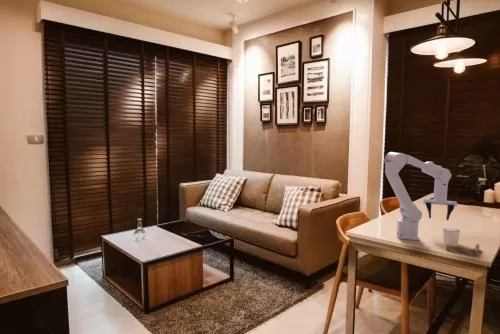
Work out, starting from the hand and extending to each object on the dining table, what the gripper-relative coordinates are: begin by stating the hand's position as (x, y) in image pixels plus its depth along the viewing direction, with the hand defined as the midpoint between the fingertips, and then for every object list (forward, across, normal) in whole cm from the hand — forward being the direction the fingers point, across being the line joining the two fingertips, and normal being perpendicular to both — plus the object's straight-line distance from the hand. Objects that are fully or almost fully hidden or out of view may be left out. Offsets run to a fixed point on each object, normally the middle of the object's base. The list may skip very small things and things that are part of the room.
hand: (438, 218), depth 168 cm
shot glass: (+10, +5, -9) cm, 14 cm away
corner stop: (+9, +11, -20) cm, 24 cm away
